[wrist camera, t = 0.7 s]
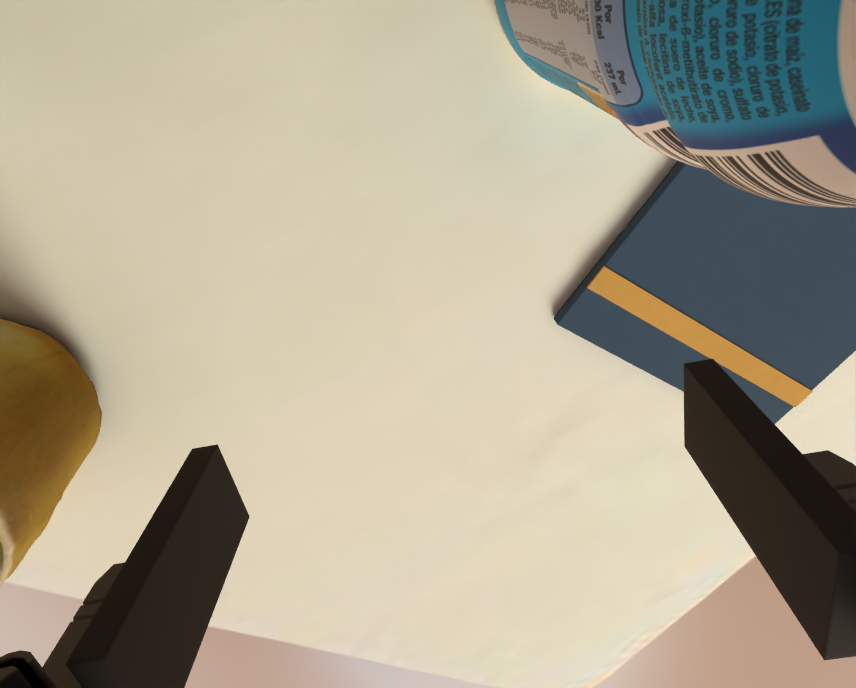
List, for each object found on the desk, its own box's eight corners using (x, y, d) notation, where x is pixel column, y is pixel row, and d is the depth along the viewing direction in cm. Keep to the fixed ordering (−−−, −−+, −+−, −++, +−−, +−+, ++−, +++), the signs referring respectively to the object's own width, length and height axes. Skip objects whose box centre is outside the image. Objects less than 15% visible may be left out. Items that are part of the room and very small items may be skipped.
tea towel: (915, -139, 20) (932, -142, 19) (1108, 103, 25) (1126, 106, 25) (553, 318, 28) (557, 325, 27) (757, 427, 33) (764, 435, 33)
